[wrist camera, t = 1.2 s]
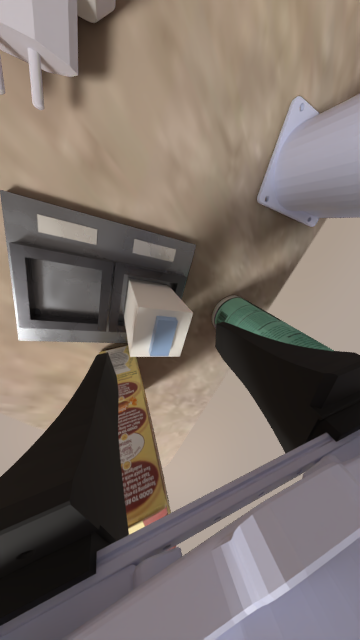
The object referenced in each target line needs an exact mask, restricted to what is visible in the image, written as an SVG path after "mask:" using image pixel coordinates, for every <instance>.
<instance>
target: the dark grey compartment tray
mask: <svg viewBox="0 0 360 640" xmlns="http://www.w3.org/2000/svg"><path fill="white" fill-rule="evenodd" d="M0 194H1V202H2V210H3V218H4V226H5V234H6V242H7V250H8V258H9V266H10V274H11V282H12V290H13V298H14V306H15V314H16V322H17V330H18V338H19V341H58V342H99V343H128V340H127V333H126V327H125V320H124V310H125V303H126V296H127V289H128V281H129V278H130V279H136V280H142V281H148V282H154V283H160V284H166V285H168V286H169V287H170V288H171V289H172V290H173V291H174V292H175V293H176V294H177V296H178V297H179V298H180V299H182V296H183V292H184V288H185V285H186V281H187V277H188V273H189V270H190V266H191V262H192V259H193V255H194V251H195V247H196V245H195V244H191V243H188V242H184V241H181V240H177V239H173V238H170V237H166V236H163V235H159V234H156V233H152V232H149V231H145V230H141V229H138V228H134V227H131V226H127V225H124V224H120V223H117V222H113V221H109V220H106V219H102V218H99V217H95V216H92V215H88V214H85V213H81V212H77V211H74V210H70V209H67V208H63V207H60V206H56V205H52V204H49V203H45V202H42V201H38V200H35V199H31V198H28V197H24V196H20V195H17V194H13V193H10V192H6V191H3V190H0Z"/></svg>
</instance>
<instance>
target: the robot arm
mask: <svg viewBox="0 0 360 640" xmlns="http://www.w3.org/2000/svg"><path fill="white" fill-rule="evenodd" d="M300 108H301V109H300ZM265 198H266V201H265ZM257 201H258V203H260V204H262V205H264V206H266V207H268V208H271V209H273V210H275V211H277V212H279V213H281V214H284V215H286V216H288V217H290V218H292V219H294V220H296V221H299V222H301V223H303V224H305V225H307V226H309V227H313V226H315V225H316V223H317V222H318V220H319V218H346V217H347V218H348V217H349V218H350V217H360V94H358V95H356V96H354V97H352V98H350V99H348V100H346V101H344V102H342V103H340V104H338V105H336V106H334V107H332V108H330V109H328V110H326V111H324V112H323V113H321V114H320V113H319V112H317V111H316V110H315V109H314V108H313V107H312V106H311V105H310V104H309V103H308V102H306V101H305V100H304V99H303V98H302V97H301V96H297V97H296V98H294V99H293V100H292V102H291V105H290V108H289V110H288V113H287V116H286V119H285V122H284V124H283V127H282V130H281V133H280V135H279V138H278V141H277V144H276V146H275V149H274V152H273V155H272V158H271V160H270V163H269V166H268V169H267V171H266V174H265V177H264V180H263V183H262V185H261V188H260V191H259V194H258V197H257ZM307 220H308V221H307ZM215 347H216V349H217V350H218V352H219V354H220V355H221V357H222V358H223V360H224V361H225V362H226V363H227V365H228V366H229V367H230V368H231V370H232V371H233V372H234V373H235V374H236V376H237V377H238V378H239V379H240V380H241V381H242V383H243V384H244V385H245V387H246V388H247V389H248V391H249V392H250V394H251V395H252V397H253V398H254V400H255V401H256V403H257V405H258V406H259V408H260V409H261V411H262V412H263V414H264V416H265V417H266V419H267V421H268V422H269V424H270V426H271V428H272V429H273V431H274V433H275V435H276V436H277V438H278V440H279V442H280V444H281V446H282V447H283V449H284V451H285V453H286V454H284V455H282V456H280V457H278V458H276V459H274V460H272V461H270V462H268V463H267V464H265V465H263V466H261V467H259V468H257V469H255V470H253V471H251V472H249V473H247V474H245V475H243V476H241V477H240V478H238V479H236V480H234V481H232V482H230V483H228V484H226V485H224V486H222V487H220V488H218V489H216V490H214V491H213V492H211V493H209V494H207V495H205V496H203V497H201V498H199V499H197V500H195V501H193V502H192V503H189V504H188V505H186V506H184V507H182V508H180V509H178V510H176V511H174V512H172V513H170V514H168V515H166V516H164V517H162V518H161V519H159V520H157V521H155V522H153V523H151V524H149V525H147V526H145V527H143V528H141V529H139V530H137V531H135V532H134V533H132V534H130V535H129V530H128V522H127V514H126V506H125V498H124V489H123V480H122V470H121V460H120V449H119V438H118V404H119V391H118V382H117V376H116V373H115V370H114V367H113V365H112V362H111V359H110V356H109V354H108V352H106V353H103V354H99V355H97V356H96V357H95V359H94V361H93V363H92V365H91V367H90V369H89V371H88V373H87V374H86V376H85V378H84V379H83V381H82V383H81V384H80V386H79V388H78V389H77V391H76V392H75V394H74V395H73V397H72V398H71V400H70V401H69V403H68V404H67V405H66V407H65V408H64V409H63V411H62V412H61V413H60V415H59V416H58V417H57V418H56V420H55V421H54V422H53V423H52V424H51V425H50V426H49V428H48V429H47V430H46V431H45V432H44V434H43V435H42V436H41V437H40V438H39V439H38V440H37V441H36V442H35V443H34V444H33V446H31V448H30V449H29V450H28V451H27V452H26V453H25V454H24V455H23V456H22V457H21V458H20V459H19V460H18V461H17V462H16V463H15V464H14V465H13V466H12V467H11V468H10V469H9V470H8V471H6V472H5V473H4V474H3V475H2V476H1V477H0V640H360V355H358V354H356V353H352V352H339V351H329V350H321V349H314V348H308V347H302V346H297V345H292V344H288V343H284V342H280V341H276V340H273V339H270V338H267V337H264V336H261V335H258V334H255V333H252V332H250V331H247V330H245V329H242V328H240V327H237V326H235V325H232V324H229V323H227V322H221V323H217V324H216V345H215ZM304 472H305V473H304ZM302 473H304V474H303V478H302V479H301V480H300V481H298V482H296V483H294V484H293V485H291V486H289V487H288V488H286V489H284V490H282V491H281V492H279V493H277V494H275V495H274V496H272V497H270V498H269V499H267V500H265V501H264V502H262V503H260V504H259V505H257V506H256V507H254V508H253V509H251V510H250V511H249V512H247V513H246V514H244V515H243V516H241V517H240V518H238V519H237V520H235V521H233V522H232V523H230V524H229V525H227V526H226V527H225V528H223V529H222V530H220V531H219V532H217V533H216V534H214V535H213V536H211V537H210V538H208V539H207V540H206V541H204V542H203V543H201V544H200V545H199V546H197V547H195V548H194V549H192V550H191V551H189V552H188V553H187V554H185V555H184V556H182V553H181V549H180V548H179V547H175V548H173V549H171V548H172V547H174V546H176V545H177V544H179V543H181V542H183V541H185V540H186V539H188V538H190V537H192V536H193V535H195V534H197V533H199V532H200V531H202V530H204V529H206V528H207V527H209V526H211V525H213V524H214V523H216V522H218V521H220V520H221V519H223V518H225V517H227V516H229V515H230V514H232V513H234V512H235V511H237V510H239V509H241V508H242V507H244V506H246V505H248V504H250V503H251V502H253V501H255V500H257V499H258V498H260V497H262V496H263V495H265V494H267V493H269V492H270V491H272V490H274V489H276V488H278V487H279V486H281V485H283V484H285V483H286V482H288V481H290V480H292V479H293V478H295V477H297V476H298V475H300V474H302ZM169 549H170V550H169ZM167 550H168V551H167Z"/></svg>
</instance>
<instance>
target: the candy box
mask: <svg viewBox="0 0 360 640" xmlns="http://www.w3.org/2000/svg"><path fill="white" fill-rule="evenodd" d="M106 352H108V354H109V356H110V359H111V362H112V365H113V367H114V370H115V373H116V376H117V382H118V391H119V404H118V438H119V449H120V460H121V470H122V480H123V489H124V498H125V506H126V514H127V522H128V530H129V535H130V534H132V533H134V532H135V531H137V530H139V529H141V528H143V527H145V526H147V525H149V524H151V523H153V522H155V521H157V520H159V519H161V518H162V517H164V516H166V515H168V514H170V513H171V511H170V506H169V500H168V496H167V491H166V486H165V482H164V476H163V471H162V466H161V462H160V457H159V452H158V448H157V443H156V439H155V434H154V429H153V424H152V420H151V416H150V412H149V407H148V403H147V399H146V394H145V390H144V386H143V382H142V378H141V374H140V370H139V366H138V362H137V358H136V357H130V353H129V346H128V345H126V346H123V347H118V348H114V349H110V350H106V351H101V352H100V353H99V354H103V353H106ZM175 547H176V546H174V547H172V548H171V549H173V548H175ZM169 550H170V549H169ZM167 551H168V550H167Z"/></svg>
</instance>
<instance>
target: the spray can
mask: <svg viewBox="0 0 360 640" xmlns="http://www.w3.org/2000/svg"><path fill="white" fill-rule="evenodd" d="M221 322H227V323H229V324H232V325H235V326H237V327H240V328H242V329H245V330H247V331H250V332H252V333H255V334H258V335H261V336H264V337H267V338H270V339H273V340H276V341H280V342H284V343H288V344H292V345H297V346H302V347H308V348H314V349H321V350H329V351H334V350H332V349H330V348H328V347H327V346H325V345H323V344H321V343H320V342H318V341H316V340H314V339H313V338H311V337H309V336H307V335H306V334H304V333H302V332H301V331H299V330H297V329H295V328H293V327H292V326H290V325H288V324H287V323H285V322H283V321H281V320H280V319H278V318H276V317H275V316H273V315H271V314H269V313H268V312H266V311H264V310H262V309H261V308H259V307H257V306H255V305H254V304H252V303H250V302H249V301H247V300H245V299H243V298H242V297H239V296H236V295H232V296H228V297H226V298H224V299H222V300H221V301H220V302H219V303H218V304H217V305H216V307H215V308H214V310H213V313H212V324H213V326H214V327H215V328H216V324H217V323H221Z"/></svg>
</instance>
